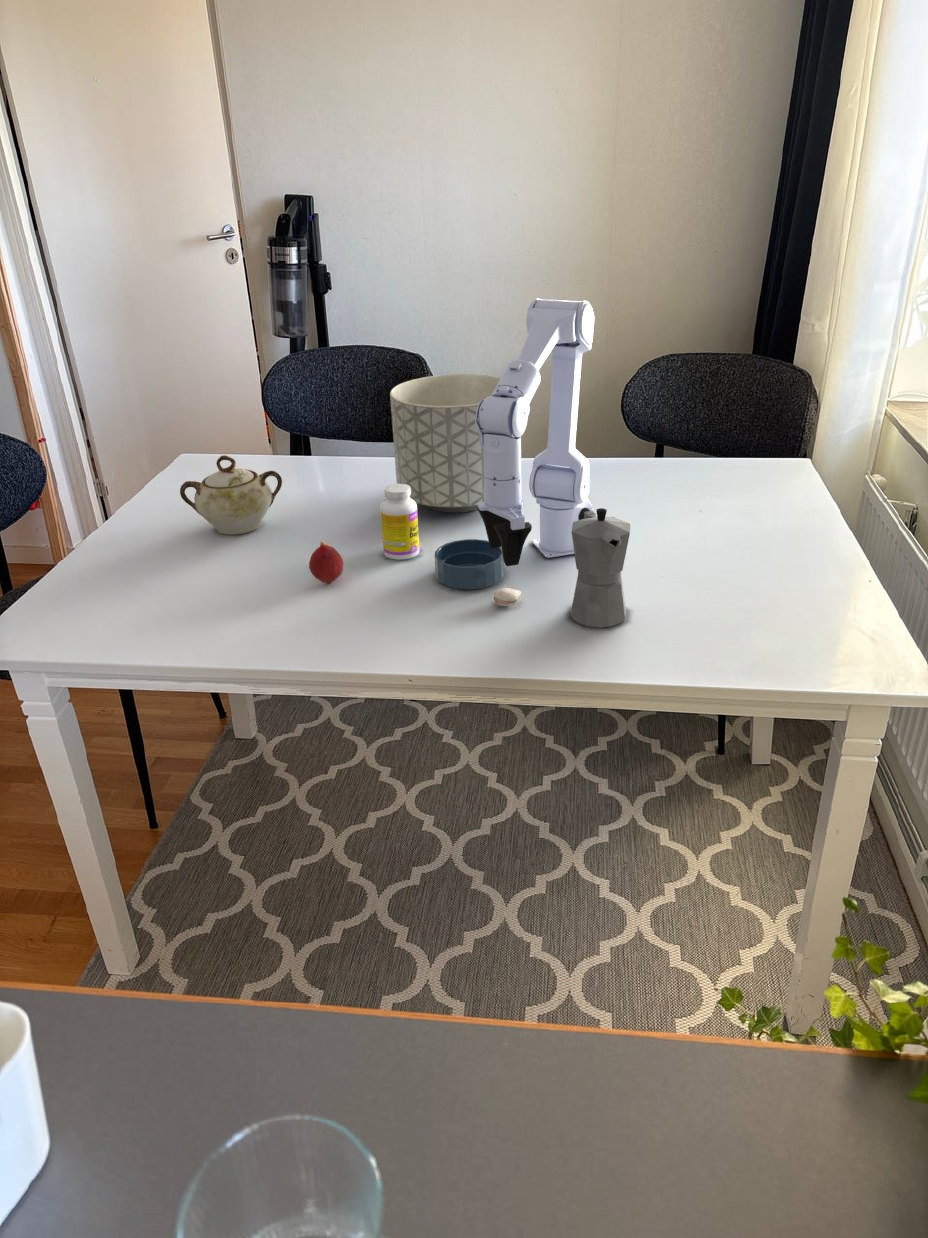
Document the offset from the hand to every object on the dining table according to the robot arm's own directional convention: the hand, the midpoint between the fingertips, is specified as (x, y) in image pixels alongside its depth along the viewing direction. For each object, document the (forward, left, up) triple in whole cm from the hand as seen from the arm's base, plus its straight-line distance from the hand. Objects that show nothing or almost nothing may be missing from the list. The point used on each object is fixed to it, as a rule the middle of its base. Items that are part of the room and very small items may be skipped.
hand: (504, 555), depth 152 cm
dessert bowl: (+3, -11, -8) cm, 14 cm away
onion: (+27, -17, -8) cm, 33 cm away
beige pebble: (0, +1, -8) cm, 9 cm away
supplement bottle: (+12, -25, -8) cm, 29 cm away
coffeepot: (-12, +9, -8) cm, 17 cm away
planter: (-5, -46, -8) cm, 47 cm away
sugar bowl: (+40, -50, -8) cm, 65 cm away
